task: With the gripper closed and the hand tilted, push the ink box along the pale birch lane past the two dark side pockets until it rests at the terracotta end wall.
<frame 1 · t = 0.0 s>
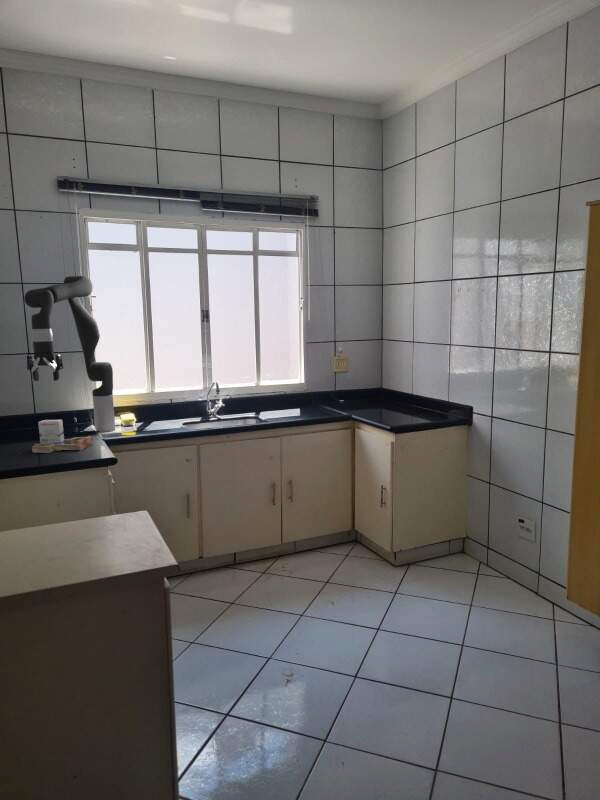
hand: (46, 380, 231), 29 cm above the worktop, tool pointing down, fingers open, 8 cm apart
ink box: (52, 448, 242), resting in trap lane
trap lane: (62, 447, 241), on the worktop
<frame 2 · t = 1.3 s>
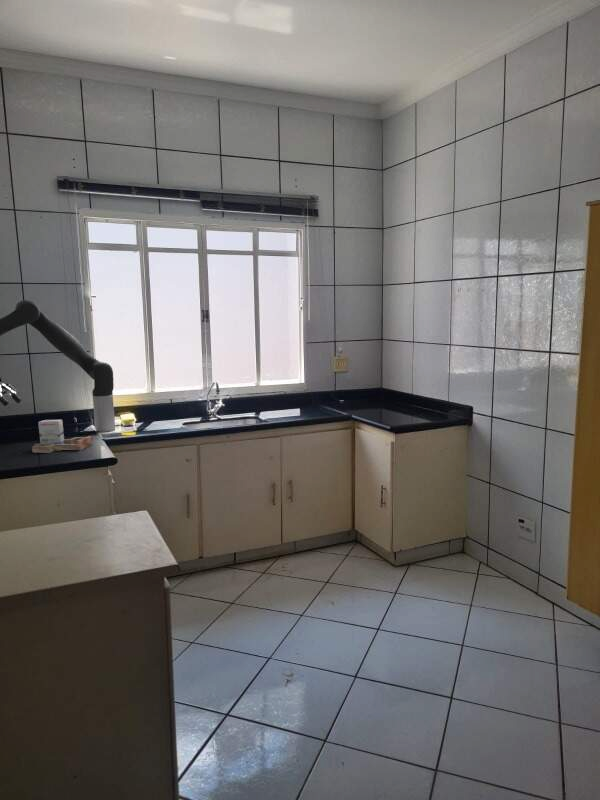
hand: (13, 403, 242), 19 cm above the worktop, tool tilted 45°, fingers open, 8 cm apart
nothing on the worktop moved.
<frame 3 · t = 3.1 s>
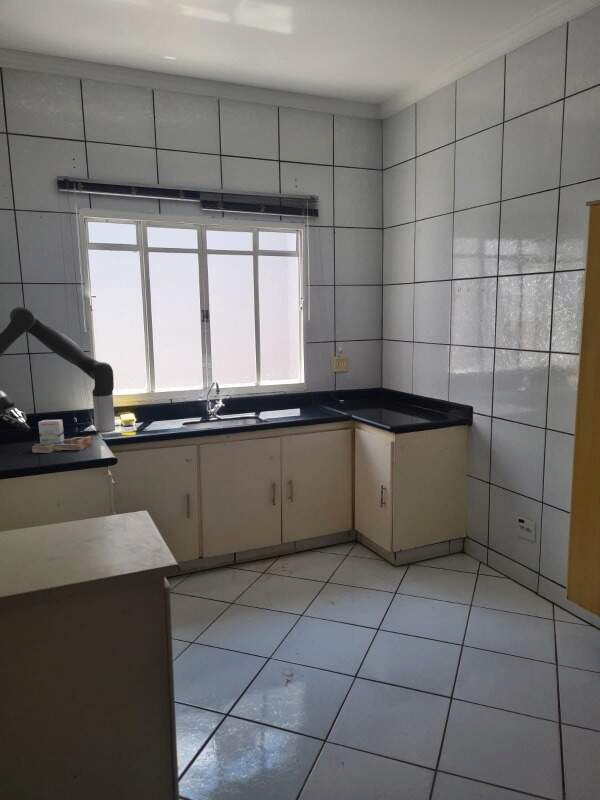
hand: (28, 430, 243), 7 cm above the worktop, tool tilted 45°, fingers closed
nothing on the worktop moved.
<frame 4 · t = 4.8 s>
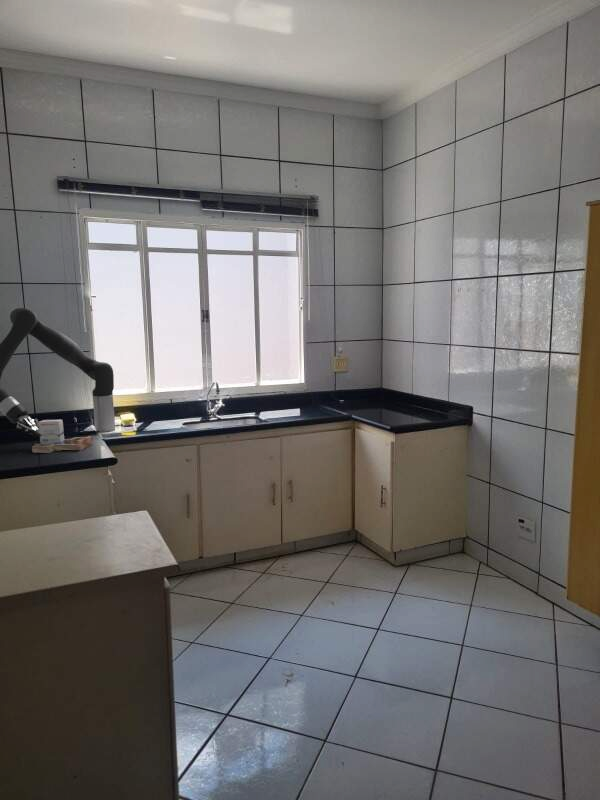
hand: (41, 438, 242), 4 cm above the worktop, tool tilted 45°, fingers closed
ink box: (53, 448, 242), resting in trap lane, touching gripper
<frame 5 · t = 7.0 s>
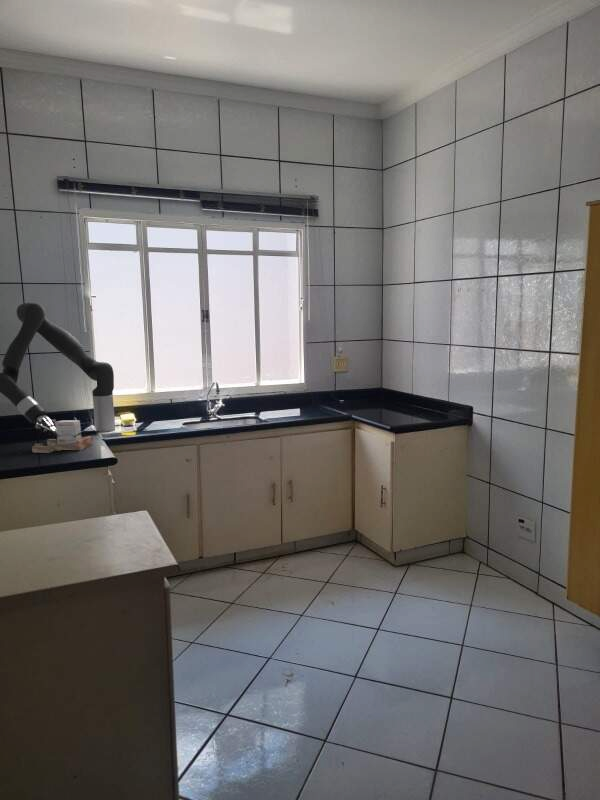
hand: (60, 438, 241), 4 cm above the worktop, tool tilted 45°, fingers closed
ink box: (70, 448, 240), resting in trap lane, touching gripper
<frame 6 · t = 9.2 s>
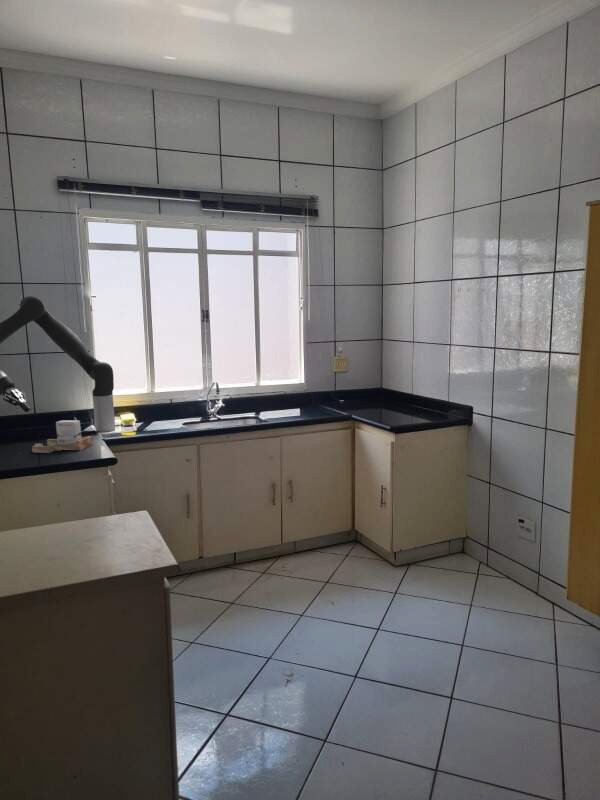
hand: (28, 410, 242), 16 cm above the worktop, tool tilted 45°, fingers closed
ink box: (70, 448, 240), resting in trap lane
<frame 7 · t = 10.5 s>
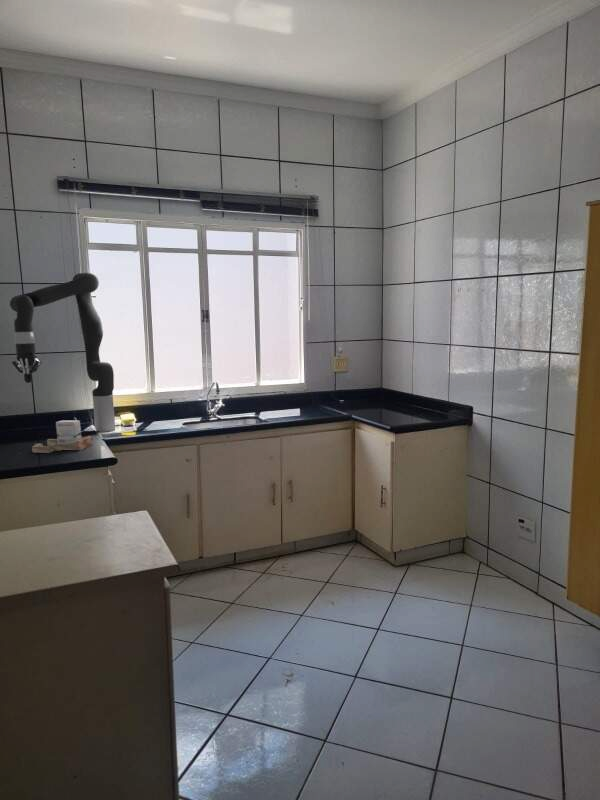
hand: (28, 382, 248), 27 cm above the worktop, tool pointing down, fingers closed
nothing on the worktop moved.
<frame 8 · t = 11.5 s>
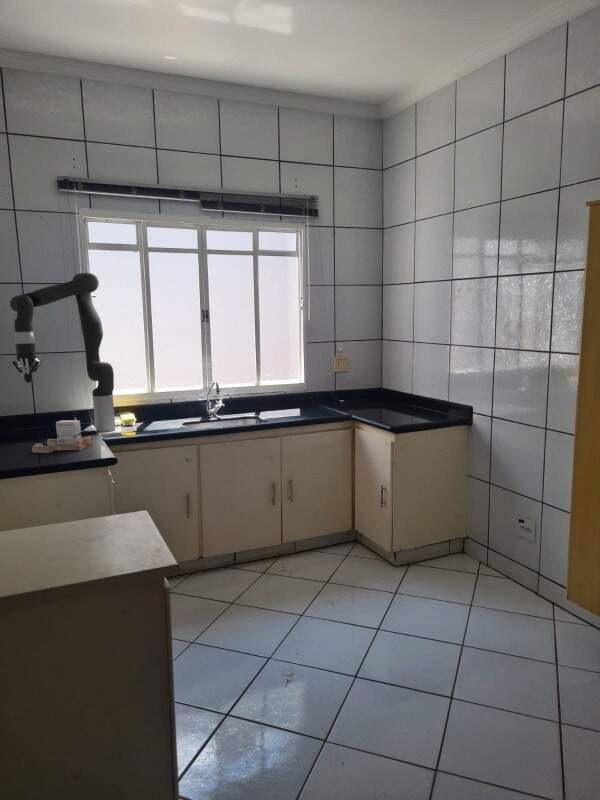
hand: (28, 382, 248), 27 cm above the worktop, tool pointing down, fingers closed
nothing on the worktop moved.
at the end: ink box inside the target area (1.3 cm from its centre), resting in trap lane; ink box tilted 0°; ink box moved 8.7 cm from its start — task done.
